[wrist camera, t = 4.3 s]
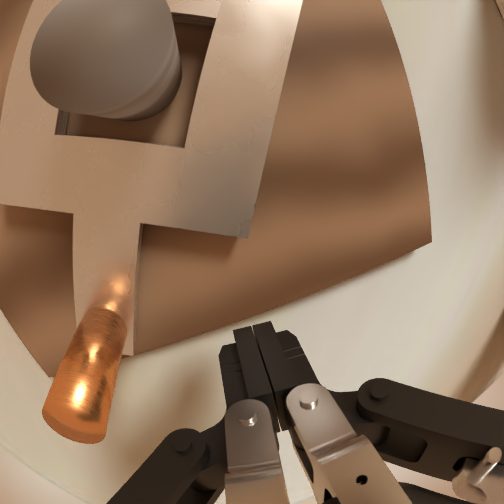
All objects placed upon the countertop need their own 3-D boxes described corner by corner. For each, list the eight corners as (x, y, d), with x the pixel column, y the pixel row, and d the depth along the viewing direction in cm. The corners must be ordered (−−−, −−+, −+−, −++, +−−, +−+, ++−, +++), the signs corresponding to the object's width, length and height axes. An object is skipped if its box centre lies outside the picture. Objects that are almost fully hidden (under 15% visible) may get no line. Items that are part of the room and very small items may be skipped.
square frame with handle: (59, -30, 7) (-2, -95, 1) (298, -9, 10) (375, -86, 4) (18, 317, 13) (-37, 404, 7) (217, 351, 16) (235, 462, 10)
